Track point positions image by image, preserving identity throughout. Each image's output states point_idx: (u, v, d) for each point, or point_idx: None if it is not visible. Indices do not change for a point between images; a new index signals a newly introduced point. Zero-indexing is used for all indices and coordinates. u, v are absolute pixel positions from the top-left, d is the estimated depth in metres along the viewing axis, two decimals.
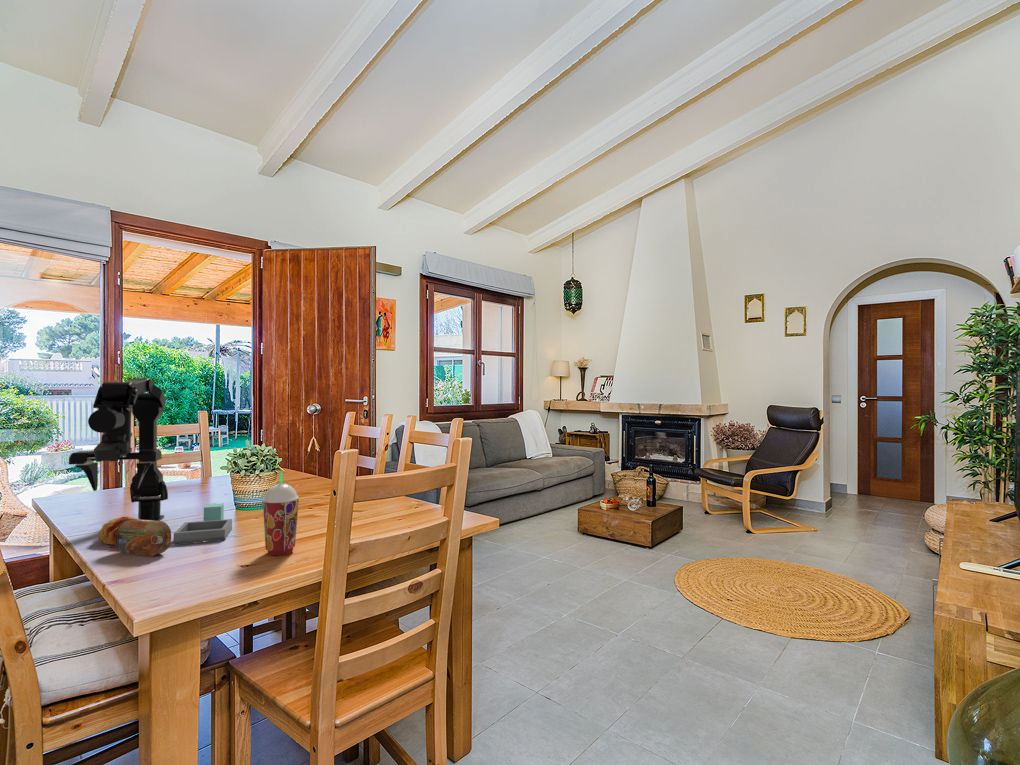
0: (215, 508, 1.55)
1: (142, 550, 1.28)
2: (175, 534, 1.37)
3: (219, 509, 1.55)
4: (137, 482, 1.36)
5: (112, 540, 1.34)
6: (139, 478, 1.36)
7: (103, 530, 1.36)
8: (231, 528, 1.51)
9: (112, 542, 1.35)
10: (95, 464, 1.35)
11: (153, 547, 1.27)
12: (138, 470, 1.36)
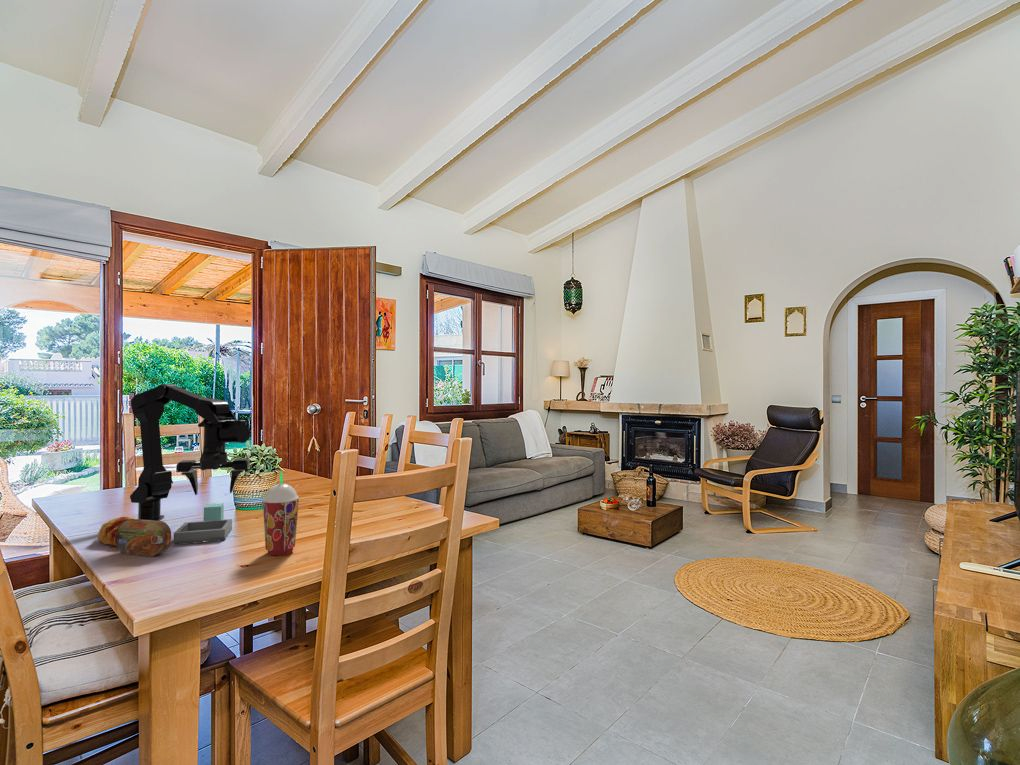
0: (215, 508, 1.55)
1: (142, 550, 1.28)
2: (175, 534, 1.37)
3: (219, 509, 1.55)
4: (231, 487, 1.57)
5: (110, 540, 1.34)
6: (233, 484, 1.57)
7: (102, 530, 1.36)
8: (231, 528, 1.51)
9: (110, 542, 1.34)
10: (195, 472, 1.56)
11: (153, 546, 1.27)
12: (232, 477, 1.57)
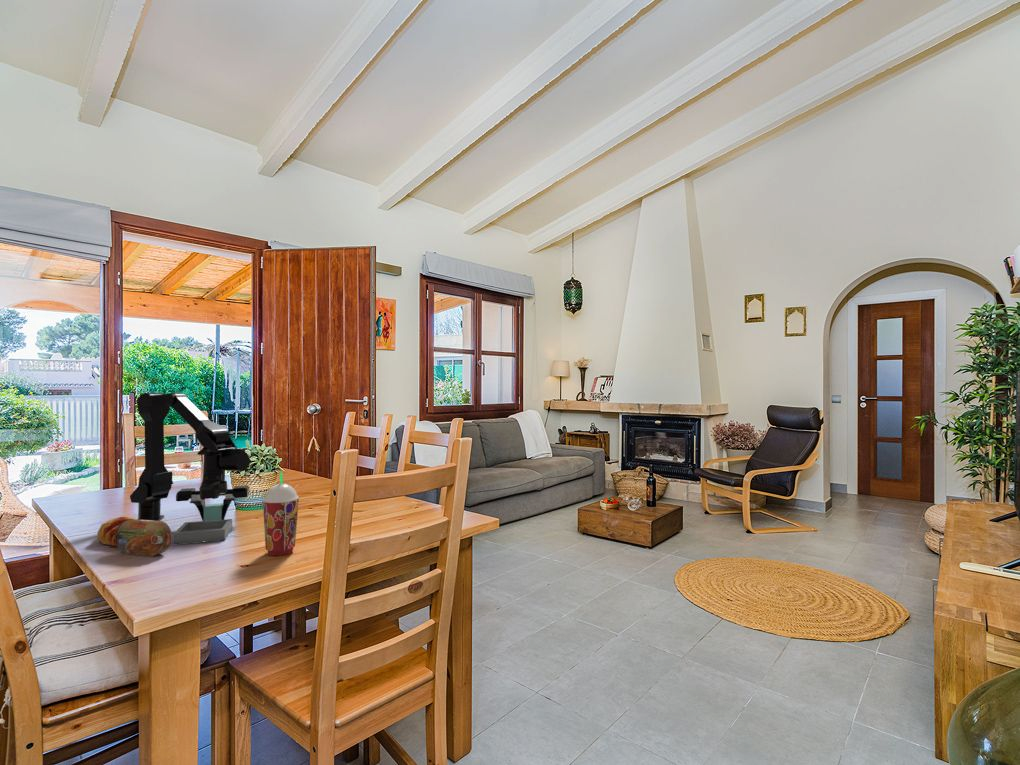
0: (215, 508, 1.55)
1: (142, 550, 1.28)
2: (175, 534, 1.37)
3: (219, 509, 1.55)
4: (223, 515, 1.56)
5: (109, 540, 1.34)
6: (224, 512, 1.56)
7: (101, 530, 1.36)
8: (231, 528, 1.51)
9: (109, 542, 1.34)
10: (203, 499, 1.57)
11: (153, 547, 1.27)
12: (224, 505, 1.56)
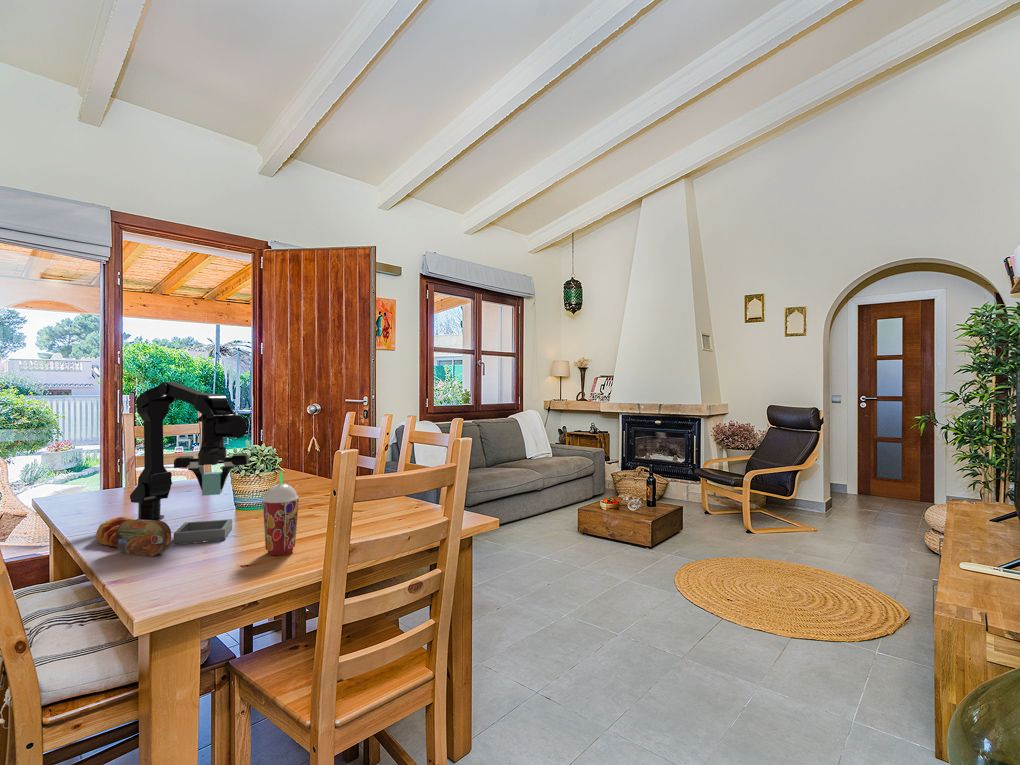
0: (214, 475, 1.51)
1: (142, 550, 1.28)
2: (175, 534, 1.37)
3: (218, 476, 1.52)
4: (222, 484, 1.53)
5: (106, 541, 1.34)
6: (224, 480, 1.53)
7: (99, 530, 1.36)
8: (231, 528, 1.51)
9: (107, 543, 1.34)
10: (202, 467, 1.53)
11: (153, 547, 1.27)
12: (223, 473, 1.53)
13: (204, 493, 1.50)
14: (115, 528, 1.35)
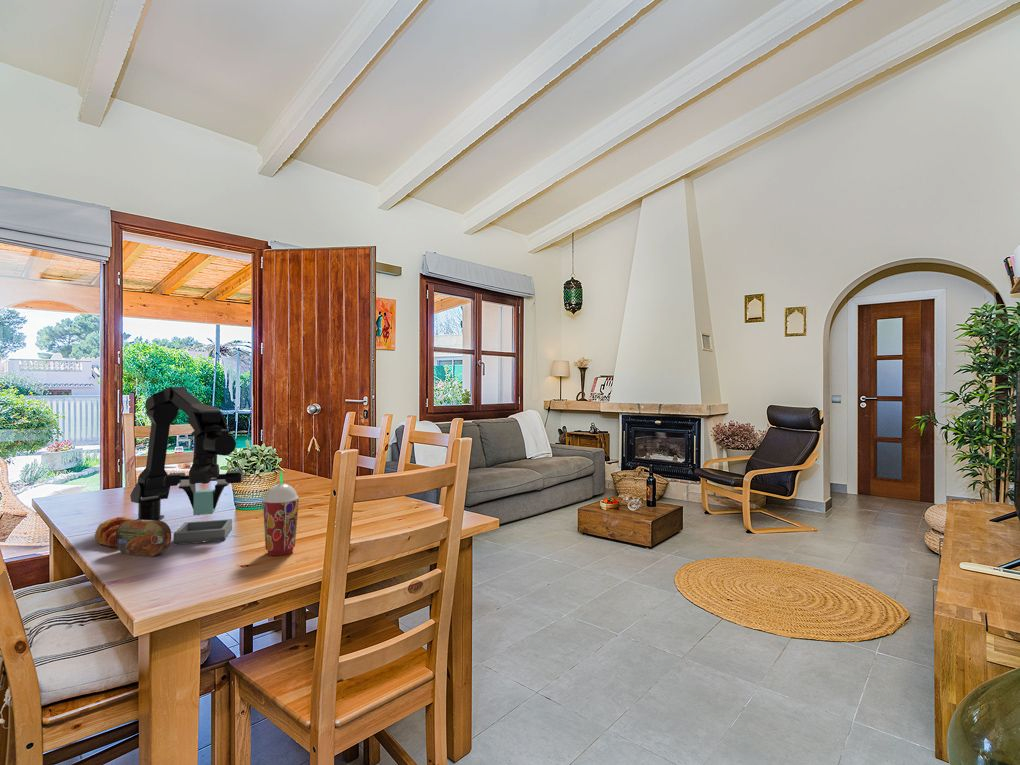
0: (206, 494, 1.43)
1: (142, 550, 1.28)
2: (175, 534, 1.37)
3: (210, 495, 1.43)
4: (215, 502, 1.44)
5: (105, 541, 1.34)
6: (216, 499, 1.44)
7: (98, 530, 1.36)
8: (231, 528, 1.51)
9: (105, 543, 1.34)
10: (194, 485, 1.45)
11: (153, 547, 1.27)
12: (216, 491, 1.44)
13: (195, 512, 1.42)
14: (114, 528, 1.35)
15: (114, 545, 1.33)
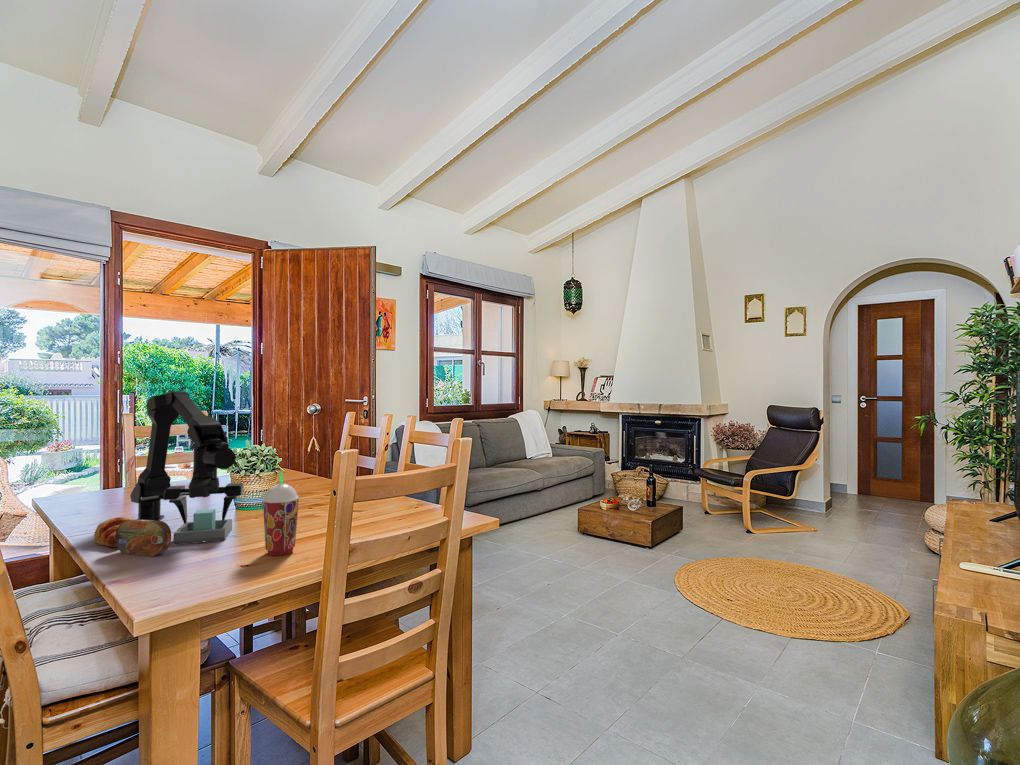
0: (206, 514, 1.42)
1: (142, 550, 1.28)
2: (175, 534, 1.37)
3: (210, 515, 1.43)
4: (223, 515, 1.45)
5: (104, 541, 1.34)
6: (225, 511, 1.45)
7: (97, 530, 1.36)
8: (231, 528, 1.51)
9: (104, 543, 1.34)
10: (185, 498, 1.44)
11: (153, 547, 1.27)
12: (224, 504, 1.45)
13: None
14: (112, 528, 1.35)
15: (112, 545, 1.33)
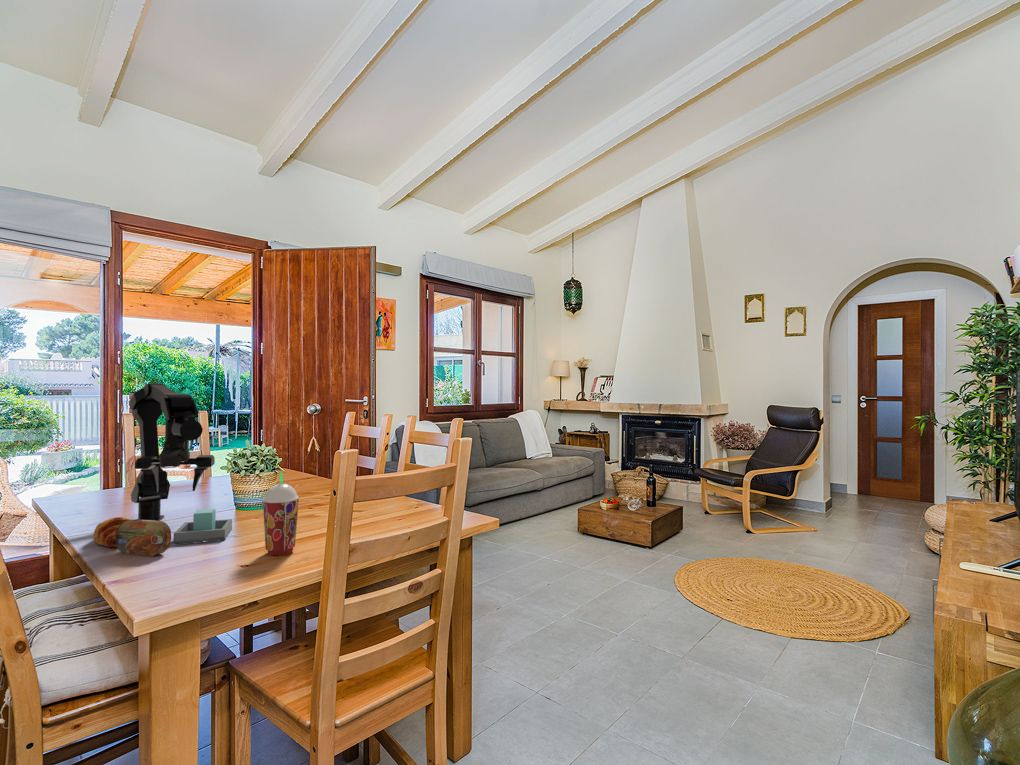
0: (206, 514, 1.42)
1: (142, 550, 1.28)
2: (175, 534, 1.37)
3: (210, 515, 1.43)
4: (194, 485, 1.50)
5: (102, 541, 1.33)
6: (196, 481, 1.50)
7: (96, 530, 1.36)
8: (231, 528, 1.51)
9: (102, 543, 1.34)
10: (156, 468, 1.49)
11: (153, 547, 1.27)
12: (195, 474, 1.50)
13: None
14: (111, 528, 1.35)
15: (111, 545, 1.32)
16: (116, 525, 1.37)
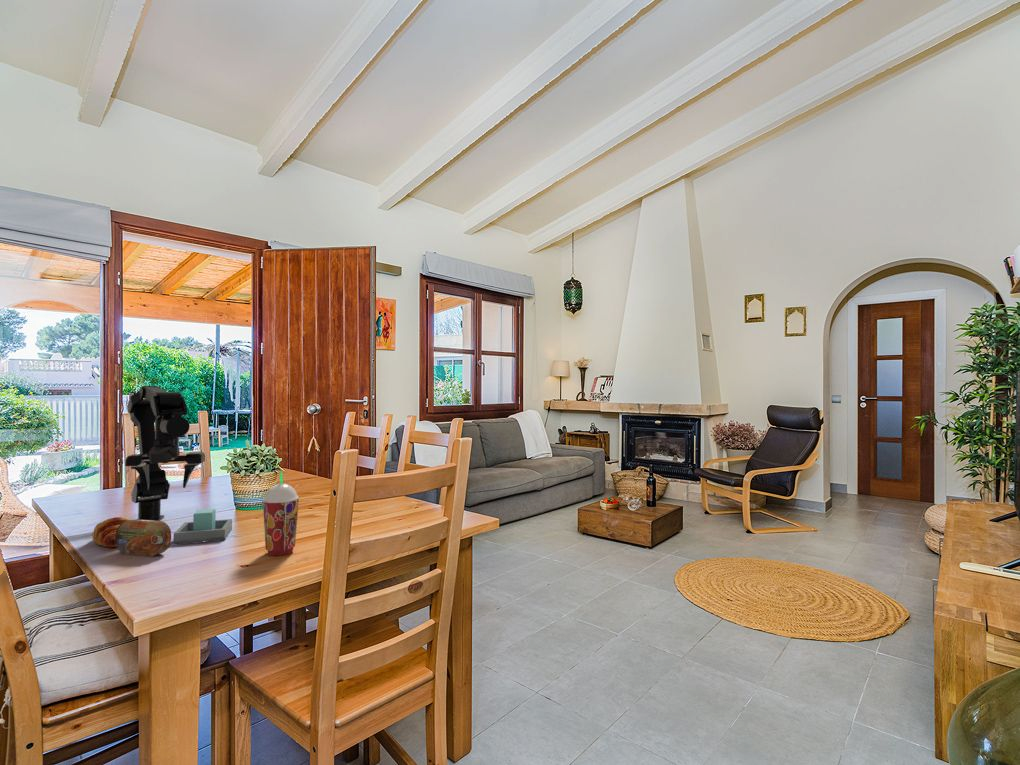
0: (206, 514, 1.42)
1: (142, 550, 1.28)
2: (175, 534, 1.37)
3: (210, 515, 1.43)
4: (184, 482, 1.51)
5: (101, 541, 1.33)
6: (186, 478, 1.51)
7: (95, 530, 1.36)
8: (231, 528, 1.51)
9: (101, 543, 1.34)
10: (147, 466, 1.50)
11: (153, 547, 1.27)
12: (185, 471, 1.51)
13: None
14: (110, 528, 1.35)
15: (109, 545, 1.32)
16: (115, 525, 1.37)
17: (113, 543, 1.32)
